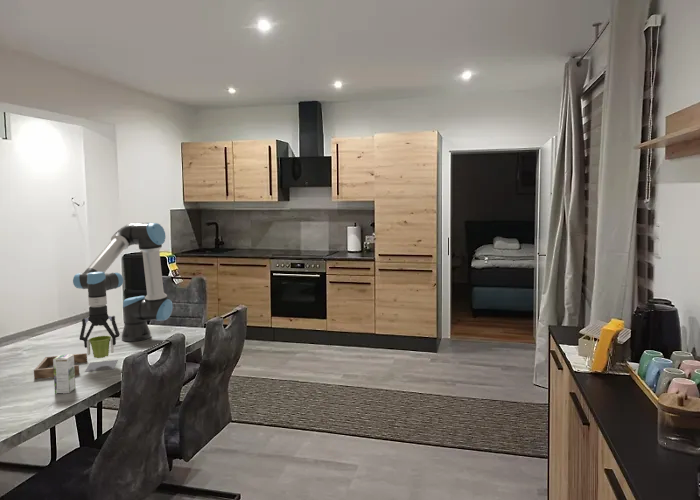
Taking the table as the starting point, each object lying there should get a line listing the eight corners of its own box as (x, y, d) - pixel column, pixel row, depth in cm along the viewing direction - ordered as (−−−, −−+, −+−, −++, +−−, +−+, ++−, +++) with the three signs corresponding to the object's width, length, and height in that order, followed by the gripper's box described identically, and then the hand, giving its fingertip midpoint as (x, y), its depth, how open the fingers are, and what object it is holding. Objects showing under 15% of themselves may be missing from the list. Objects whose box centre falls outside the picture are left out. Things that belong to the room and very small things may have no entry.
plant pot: (90, 360, 236) (88, 341, 235) (89, 355, 244) (88, 337, 244) (112, 357, 240) (111, 339, 240) (111, 352, 249) (110, 334, 248)
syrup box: (61, 389, 213) (58, 354, 212) (76, 388, 214) (73, 353, 212) (54, 394, 208) (52, 358, 206) (70, 393, 208) (67, 358, 207)
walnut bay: (87, 361, 250) (86, 353, 250) (79, 374, 231) (78, 365, 231) (46, 365, 245) (45, 357, 245) (34, 379, 226) (33, 370, 225)
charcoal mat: (117, 360, 251) (117, 359, 251) (113, 368, 238) (113, 368, 238) (90, 362, 248) (90, 362, 248) (84, 371, 234) (84, 371, 234)
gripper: (69, 308, 233) (72, 357, 235) (122, 305, 240) (125, 352, 242) (73, 305, 240) (76, 353, 243) (124, 302, 247) (127, 348, 249)
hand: (100, 353), depth 242 cm, fingers closed on plant pot, 9 cm apart
